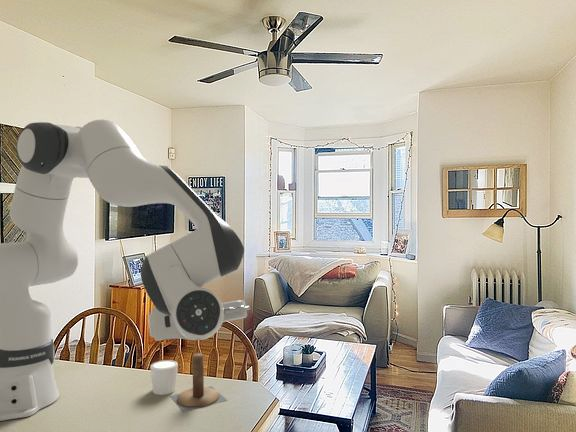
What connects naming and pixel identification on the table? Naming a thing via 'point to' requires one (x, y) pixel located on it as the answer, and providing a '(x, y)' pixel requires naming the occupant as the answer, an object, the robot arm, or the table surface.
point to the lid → (198, 387)
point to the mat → (196, 407)
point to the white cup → (164, 376)
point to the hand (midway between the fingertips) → (198, 318)
